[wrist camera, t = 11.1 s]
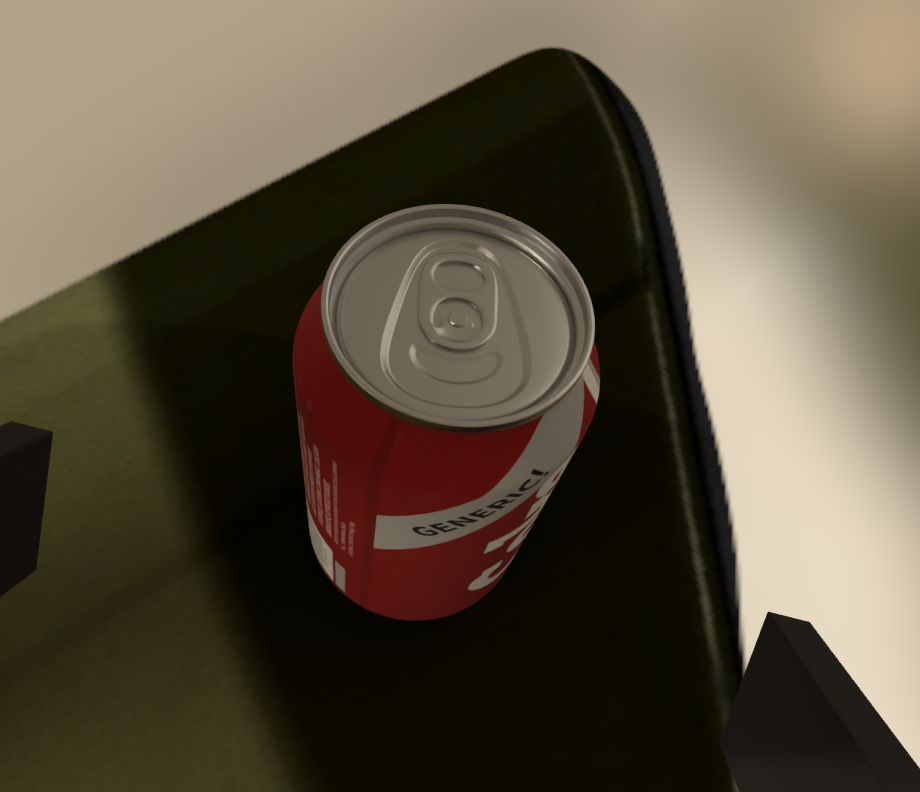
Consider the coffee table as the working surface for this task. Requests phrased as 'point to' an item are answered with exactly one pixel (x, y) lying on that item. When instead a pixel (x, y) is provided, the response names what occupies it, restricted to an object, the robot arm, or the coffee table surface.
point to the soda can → (438, 403)
